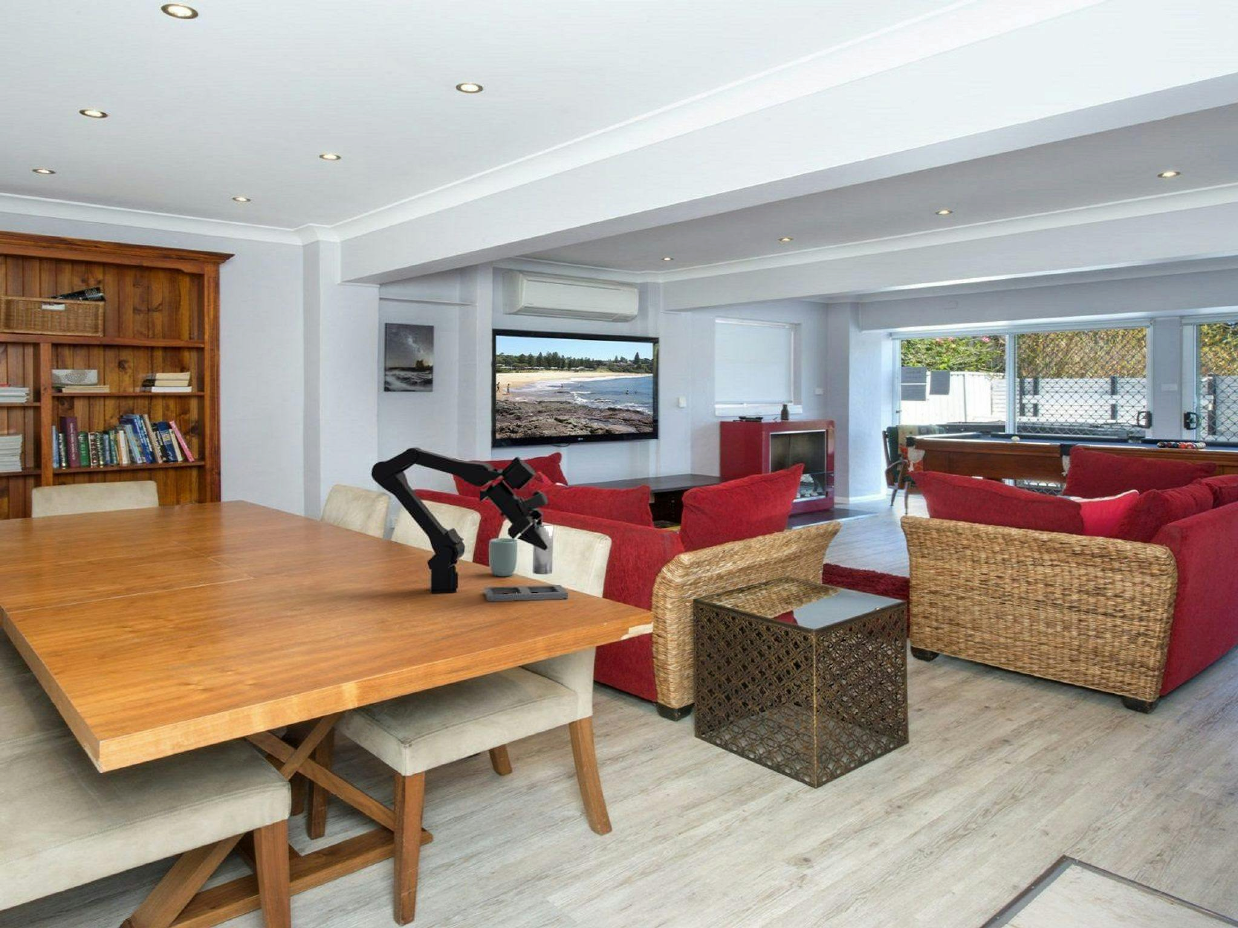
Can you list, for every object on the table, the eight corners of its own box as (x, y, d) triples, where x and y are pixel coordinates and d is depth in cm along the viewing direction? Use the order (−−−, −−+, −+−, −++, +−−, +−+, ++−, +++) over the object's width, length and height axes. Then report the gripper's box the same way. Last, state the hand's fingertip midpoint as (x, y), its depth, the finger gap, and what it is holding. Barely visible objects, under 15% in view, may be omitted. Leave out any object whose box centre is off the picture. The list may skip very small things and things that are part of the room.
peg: (537, 574, 225) (538, 527, 225) (529, 571, 230) (530, 525, 229) (555, 573, 228) (556, 526, 227) (547, 569, 232) (548, 524, 231)
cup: (511, 578, 249) (512, 543, 249) (485, 576, 251) (485, 541, 250) (520, 573, 257) (520, 538, 256) (494, 571, 259) (494, 537, 258)
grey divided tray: (488, 601, 221) (488, 595, 221) (483, 592, 230) (483, 587, 230) (567, 598, 226) (567, 592, 226) (560, 590, 236) (560, 584, 235)
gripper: (522, 484, 218) (565, 531, 218) (536, 478, 237) (576, 521, 237) (489, 514, 220) (532, 561, 219) (506, 506, 238) (546, 549, 238)
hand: (548, 547), depth 228 cm, fingers closed on peg, 5 cm apart
